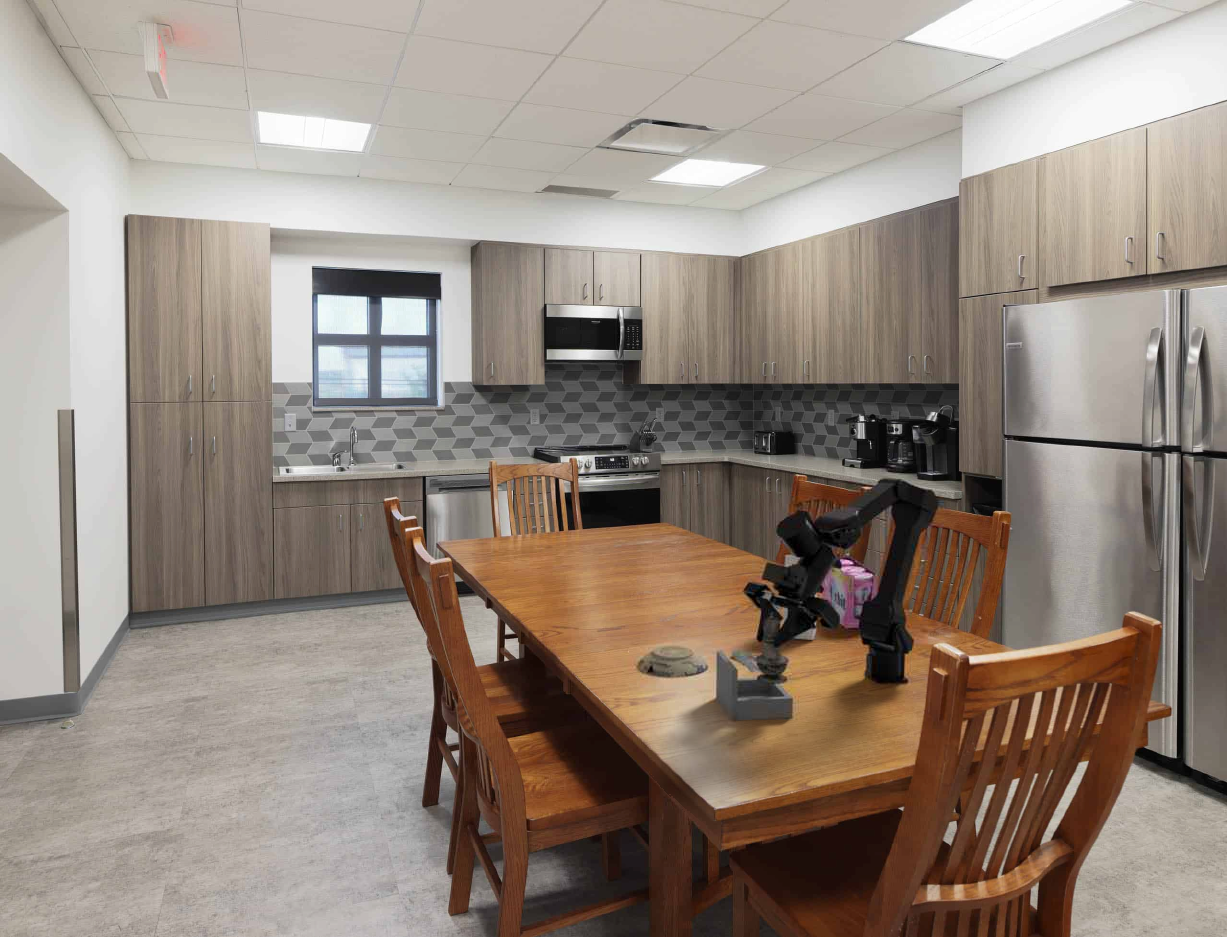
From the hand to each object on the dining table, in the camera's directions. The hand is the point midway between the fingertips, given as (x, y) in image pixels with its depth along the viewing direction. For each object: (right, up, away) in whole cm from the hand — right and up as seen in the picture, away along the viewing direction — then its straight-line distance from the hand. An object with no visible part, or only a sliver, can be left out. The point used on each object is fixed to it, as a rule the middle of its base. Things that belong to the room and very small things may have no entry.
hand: (766, 643), depth 144 cm
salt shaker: (+1, -7, +1) cm, 7 cm away
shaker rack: (-1, -13, +6) cm, 14 cm away
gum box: (+33, -8, +68) cm, 76 cm away
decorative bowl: (-14, -12, +29) cm, 35 cm away
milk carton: (+17, -9, +51) cm, 55 cm away
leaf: (+4, -12, +27) cm, 29 cm away
